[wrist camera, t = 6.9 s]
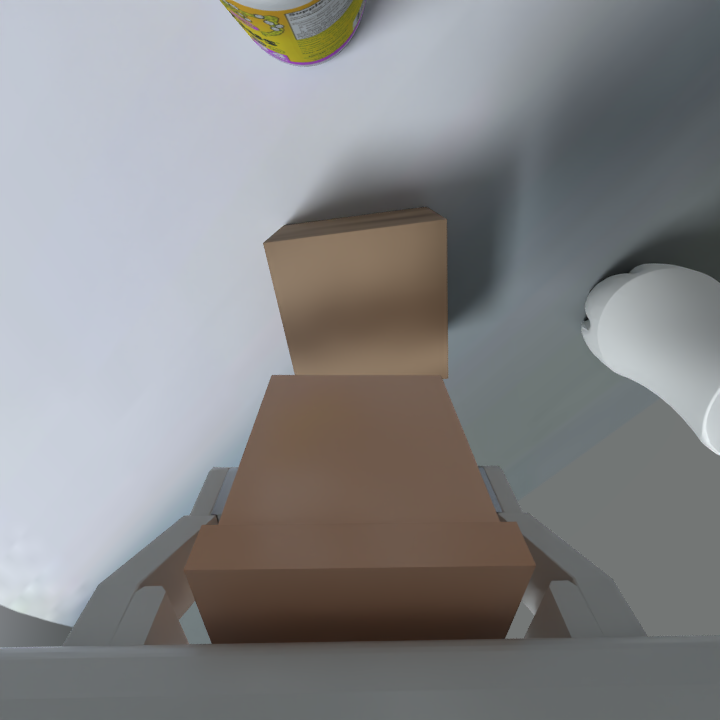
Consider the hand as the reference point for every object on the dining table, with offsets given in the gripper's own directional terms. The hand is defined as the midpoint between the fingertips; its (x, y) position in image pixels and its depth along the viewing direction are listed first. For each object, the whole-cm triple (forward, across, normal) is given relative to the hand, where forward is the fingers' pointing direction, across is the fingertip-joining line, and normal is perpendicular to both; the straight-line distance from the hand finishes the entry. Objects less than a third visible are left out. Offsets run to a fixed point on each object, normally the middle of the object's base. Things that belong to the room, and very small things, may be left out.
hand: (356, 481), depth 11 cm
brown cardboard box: (+2, 0, 0) cm, 2 cm away
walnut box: (+17, -1, -1) cm, 17 cm away
